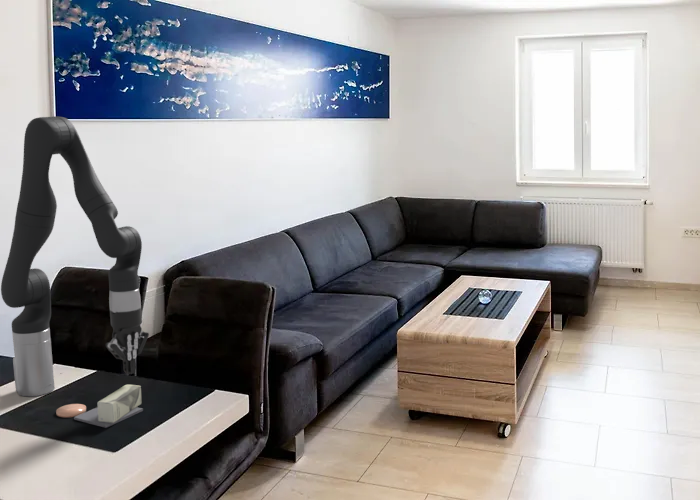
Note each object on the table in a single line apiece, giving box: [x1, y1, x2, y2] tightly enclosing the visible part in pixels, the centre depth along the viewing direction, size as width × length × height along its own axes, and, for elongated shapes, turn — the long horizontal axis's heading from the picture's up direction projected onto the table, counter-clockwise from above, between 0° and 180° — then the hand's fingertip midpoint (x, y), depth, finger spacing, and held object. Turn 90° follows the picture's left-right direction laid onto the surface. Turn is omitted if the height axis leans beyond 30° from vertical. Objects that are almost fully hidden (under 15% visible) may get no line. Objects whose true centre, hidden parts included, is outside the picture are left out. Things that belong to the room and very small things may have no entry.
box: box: [96, 384, 142, 423], centre depth 184 cm, size 5×4×13 cm
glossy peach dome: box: [55, 403, 87, 418], centre depth 187 cm, size 7×7×1 cm
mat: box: [73, 406, 144, 429], centre depth 185 cm, size 11×12×1 cm
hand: (129, 373), depth 190 cm, fingers closed
